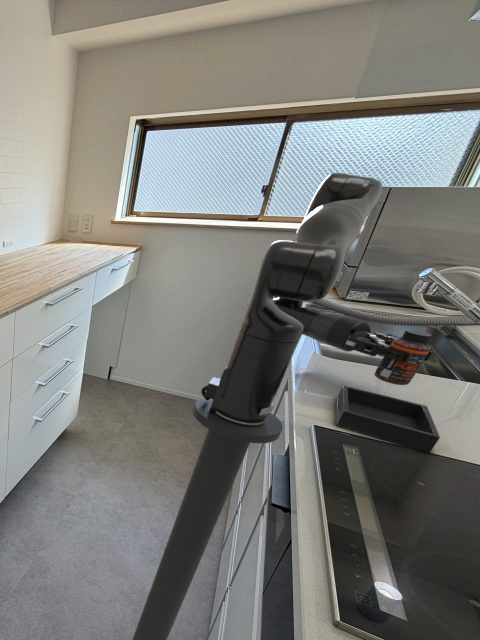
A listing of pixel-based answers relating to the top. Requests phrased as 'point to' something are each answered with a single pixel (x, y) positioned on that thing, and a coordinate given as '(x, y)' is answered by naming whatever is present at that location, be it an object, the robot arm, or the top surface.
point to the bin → (386, 418)
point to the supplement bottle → (405, 372)
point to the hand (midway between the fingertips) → (419, 357)
